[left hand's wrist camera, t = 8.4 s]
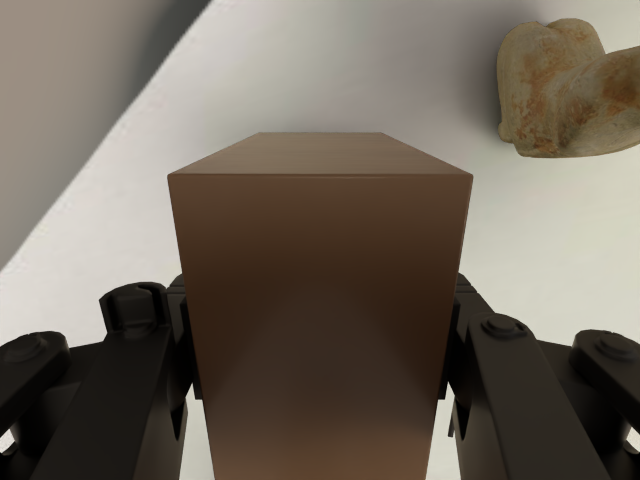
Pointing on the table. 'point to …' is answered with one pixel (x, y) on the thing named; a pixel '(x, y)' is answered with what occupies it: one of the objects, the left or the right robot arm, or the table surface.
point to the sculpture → (567, 92)
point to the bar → (320, 301)
